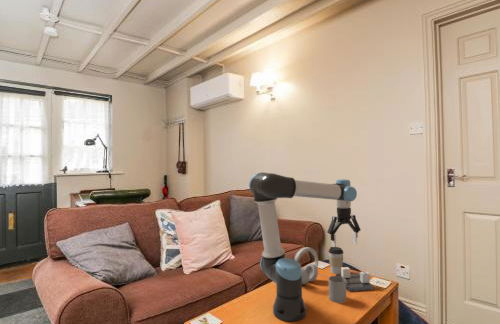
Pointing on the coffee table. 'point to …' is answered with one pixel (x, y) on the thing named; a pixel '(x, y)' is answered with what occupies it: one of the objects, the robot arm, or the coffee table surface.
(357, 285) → the console
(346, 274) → the block
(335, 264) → the coffee cup
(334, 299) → the cup
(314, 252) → the headphones
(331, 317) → the coffee table surface
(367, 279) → the block
